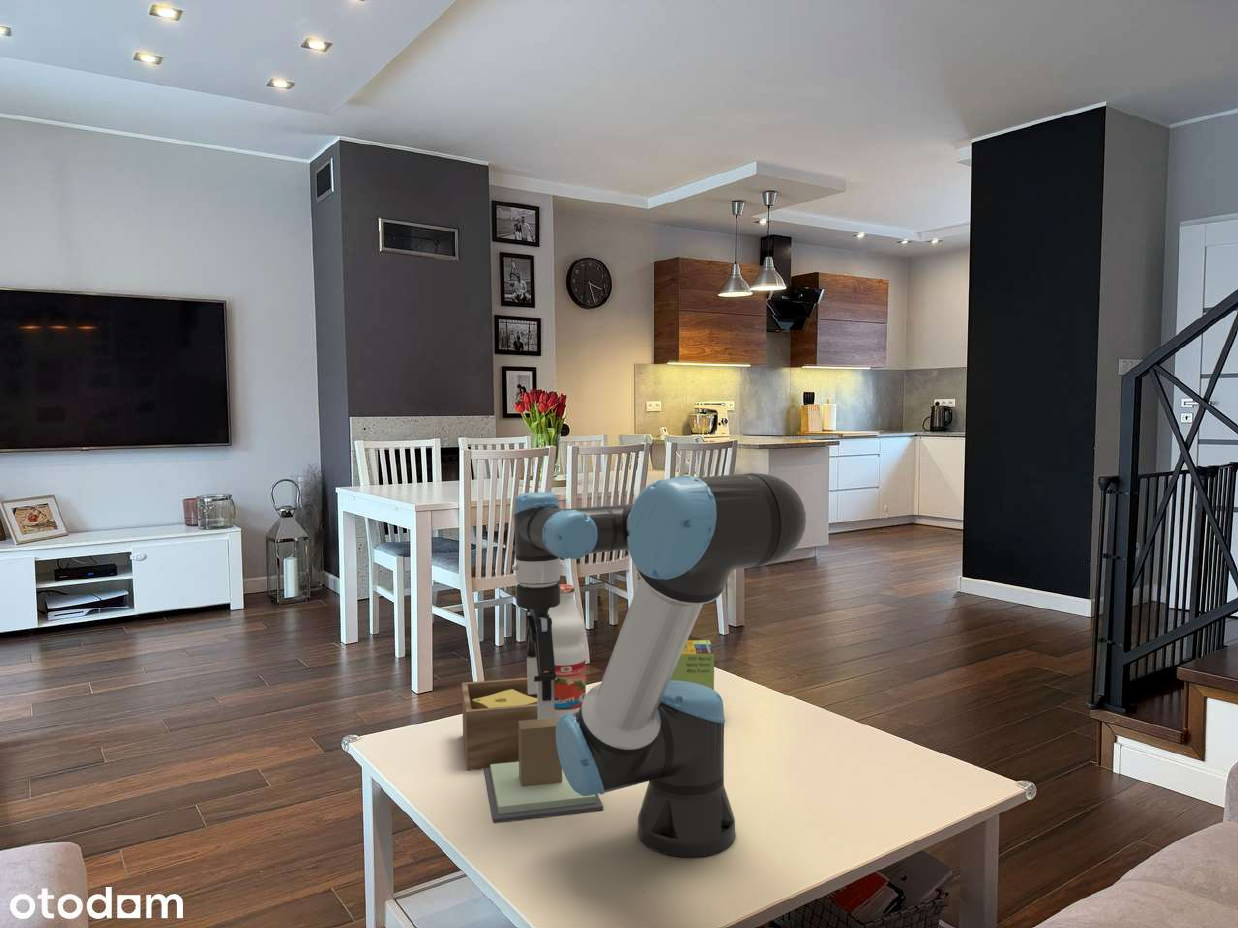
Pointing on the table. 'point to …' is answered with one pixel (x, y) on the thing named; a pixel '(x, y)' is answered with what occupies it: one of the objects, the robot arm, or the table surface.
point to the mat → (534, 813)
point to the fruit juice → (568, 654)
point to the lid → (534, 773)
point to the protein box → (696, 664)
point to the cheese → (503, 700)
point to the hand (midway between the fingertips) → (540, 705)
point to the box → (493, 723)
